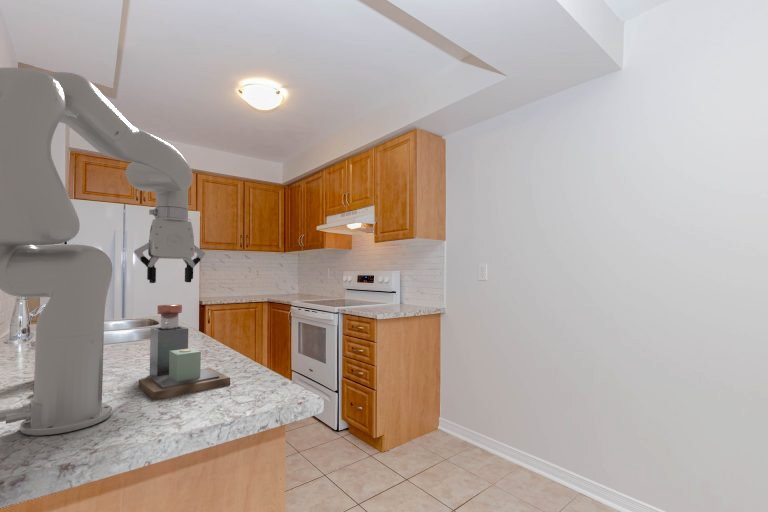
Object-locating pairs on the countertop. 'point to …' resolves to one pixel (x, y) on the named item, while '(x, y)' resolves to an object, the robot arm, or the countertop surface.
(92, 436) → the countertop surface
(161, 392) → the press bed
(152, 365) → the column
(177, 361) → the block
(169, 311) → the push button
